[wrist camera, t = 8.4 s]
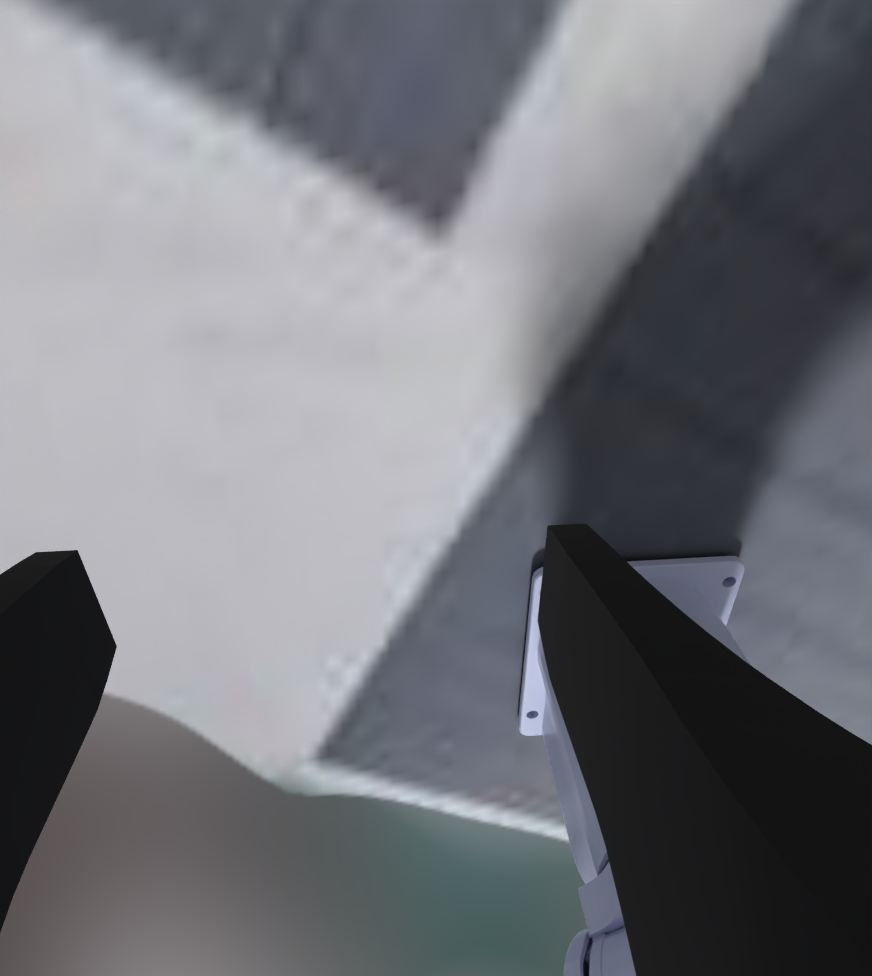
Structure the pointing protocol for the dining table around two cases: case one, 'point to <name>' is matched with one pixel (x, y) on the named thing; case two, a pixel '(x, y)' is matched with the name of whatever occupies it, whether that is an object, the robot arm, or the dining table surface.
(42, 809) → the robot arm
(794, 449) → the dining table surface
